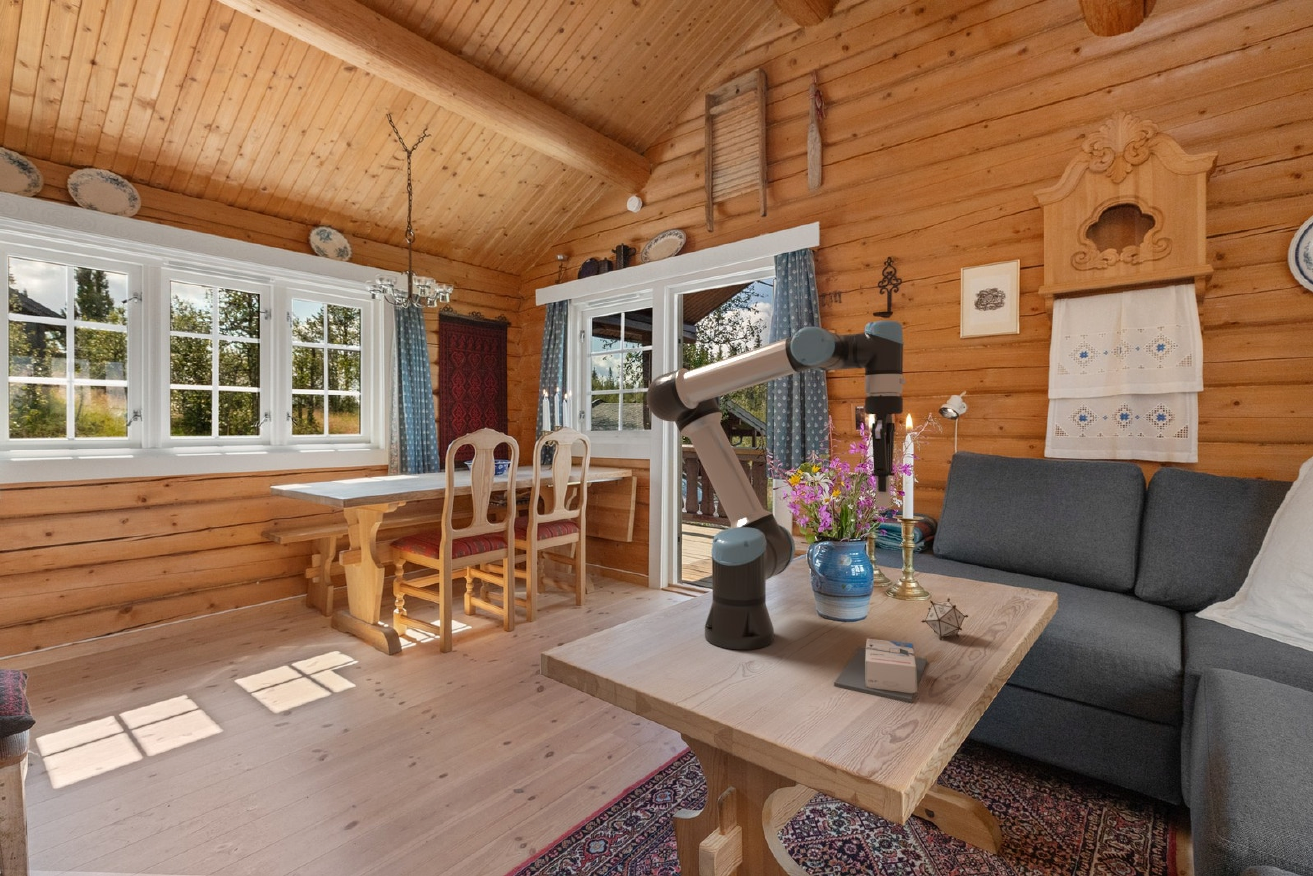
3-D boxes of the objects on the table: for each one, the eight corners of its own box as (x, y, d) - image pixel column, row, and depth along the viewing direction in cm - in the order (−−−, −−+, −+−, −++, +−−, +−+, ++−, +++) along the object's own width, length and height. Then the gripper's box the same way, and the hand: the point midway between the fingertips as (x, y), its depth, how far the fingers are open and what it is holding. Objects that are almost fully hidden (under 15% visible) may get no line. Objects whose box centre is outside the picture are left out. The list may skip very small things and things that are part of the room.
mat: (834, 686, 110) (834, 682, 110) (859, 649, 127) (859, 646, 127) (911, 702, 103) (911, 699, 103) (926, 662, 120) (926, 659, 120)
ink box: (913, 643, 116) (917, 665, 105) (913, 669, 116) (917, 694, 105) (865, 638, 119) (865, 659, 108) (865, 663, 119) (865, 687, 108)
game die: (953, 656, 133) (976, 628, 127) (915, 639, 134) (936, 612, 128) (952, 624, 140) (974, 597, 134) (915, 609, 141) (935, 582, 135)
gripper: (897, 394, 121) (896, 512, 122) (907, 395, 132) (907, 504, 133) (858, 395, 125) (857, 509, 126) (871, 396, 136) (871, 501, 137)
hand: (883, 506), depth 129 cm, fingers closed
